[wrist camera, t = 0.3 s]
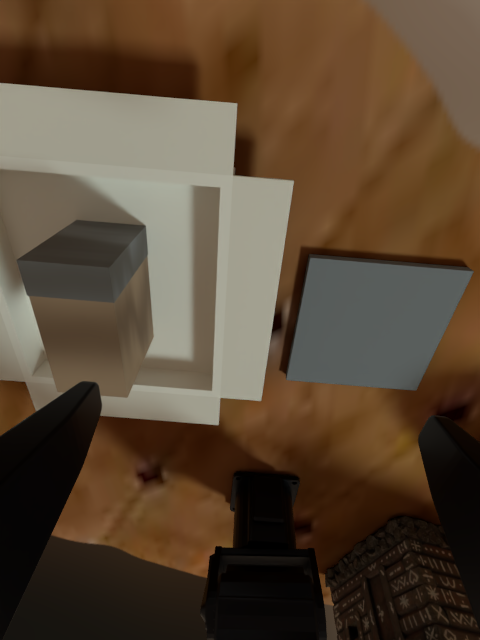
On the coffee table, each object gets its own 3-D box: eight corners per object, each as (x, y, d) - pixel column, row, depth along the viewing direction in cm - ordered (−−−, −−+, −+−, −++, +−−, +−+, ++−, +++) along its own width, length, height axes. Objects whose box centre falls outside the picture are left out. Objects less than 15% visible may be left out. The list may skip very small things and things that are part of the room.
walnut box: (154, 336, 25) (128, 398, 20) (97, 332, 25) (56, 392, 20) (145, 225, 20) (109, 267, 15) (76, 219, 20) (16, 260, 15)
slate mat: (413, 385, 27) (416, 390, 26) (285, 374, 27) (286, 379, 26) (468, 267, 21) (473, 271, 21) (309, 254, 21) (310, 257, 21)
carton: (256, 405, 29) (257, 428, 27) (15, 385, 29) (-3, 407, 27) (298, 108, 17) (304, 109, 15) (-105, 73, 17) (-154, 69, 15)
